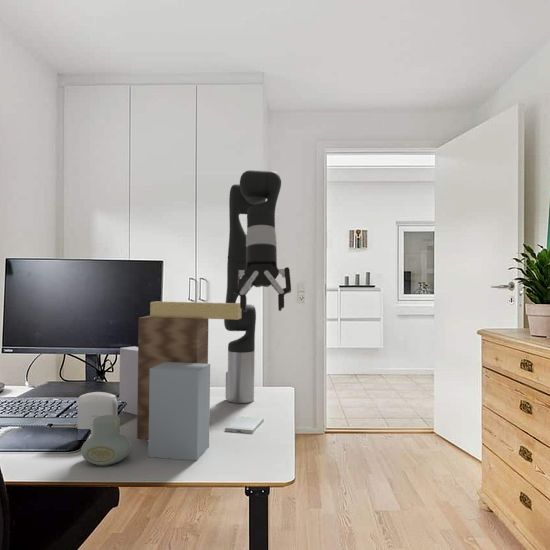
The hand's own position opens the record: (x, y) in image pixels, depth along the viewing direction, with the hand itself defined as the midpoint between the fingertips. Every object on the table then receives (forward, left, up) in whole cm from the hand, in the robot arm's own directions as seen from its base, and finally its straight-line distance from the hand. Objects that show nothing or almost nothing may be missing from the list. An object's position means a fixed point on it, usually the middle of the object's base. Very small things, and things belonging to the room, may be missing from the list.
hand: (262, 310), depth 126 cm
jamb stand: (-27, -6, -35) cm, 45 cm away
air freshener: (-22, -28, -35) cm, 50 cm away
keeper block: (-16, -12, -35) cm, 40 cm away
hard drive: (-21, +14, -36) cm, 44 cm away
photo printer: (-38, -22, -35) cm, 56 cm away
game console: (-47, +1, -35) cm, 59 cm away
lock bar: (-22, -3, -3) cm, 23 cm away
